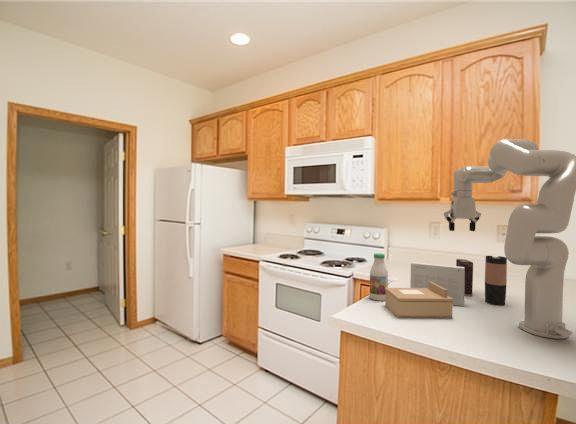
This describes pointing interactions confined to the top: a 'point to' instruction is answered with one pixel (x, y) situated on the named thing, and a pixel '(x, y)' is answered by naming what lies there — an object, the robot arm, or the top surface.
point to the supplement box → (467, 275)
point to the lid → (421, 293)
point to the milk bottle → (378, 278)
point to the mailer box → (419, 308)
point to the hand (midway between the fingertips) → (462, 230)
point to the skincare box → (440, 279)
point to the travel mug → (495, 280)
